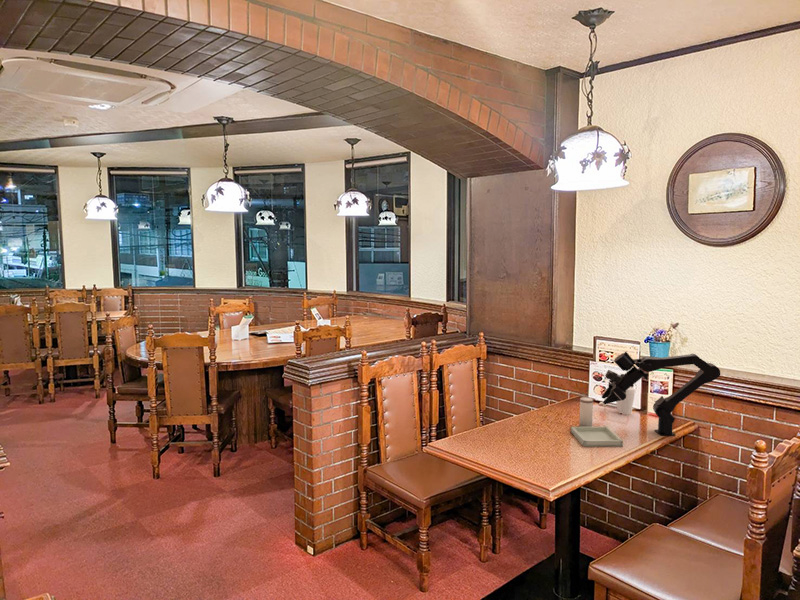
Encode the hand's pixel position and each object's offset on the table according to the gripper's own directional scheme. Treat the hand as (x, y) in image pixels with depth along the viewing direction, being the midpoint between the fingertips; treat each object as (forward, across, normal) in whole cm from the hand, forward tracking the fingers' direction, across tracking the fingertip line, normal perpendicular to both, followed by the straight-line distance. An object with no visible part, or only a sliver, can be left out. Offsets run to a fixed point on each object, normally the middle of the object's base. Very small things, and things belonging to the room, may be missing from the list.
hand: (602, 400), depth 253 cm
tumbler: (+14, 0, +4) cm, 15 cm away
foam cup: (0, -27, +18) cm, 33 cm away
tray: (+12, +16, +7) cm, 21 cm away
